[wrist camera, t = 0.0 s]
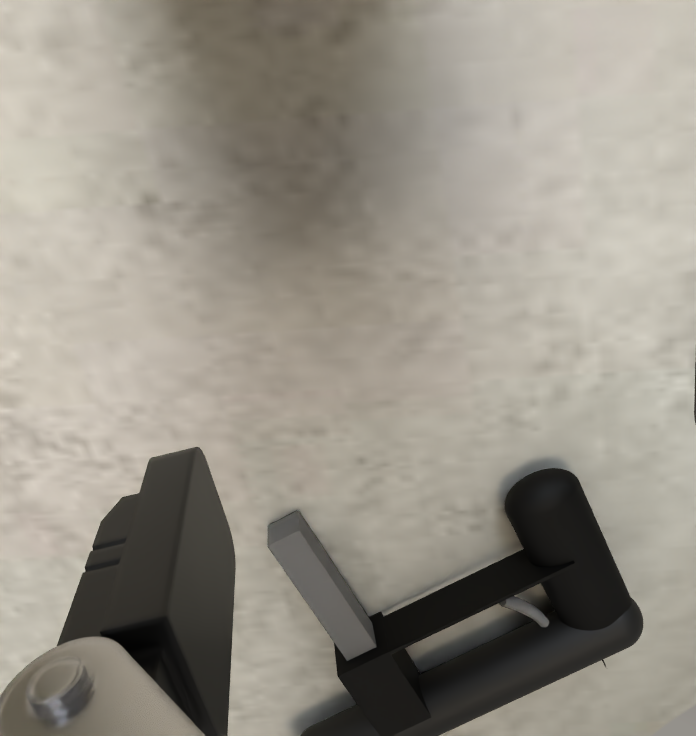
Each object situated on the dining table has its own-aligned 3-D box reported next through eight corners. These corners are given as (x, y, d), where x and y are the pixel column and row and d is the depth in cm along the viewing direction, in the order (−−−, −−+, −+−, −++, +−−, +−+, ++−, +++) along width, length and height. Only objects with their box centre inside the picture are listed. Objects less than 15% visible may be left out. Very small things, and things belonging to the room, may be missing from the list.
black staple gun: (152, 614, 30) (321, 820, 35) (559, 411, 28) (668, 661, 34) (164, 567, 33) (318, 764, 38) (531, 381, 31) (635, 615, 37)
